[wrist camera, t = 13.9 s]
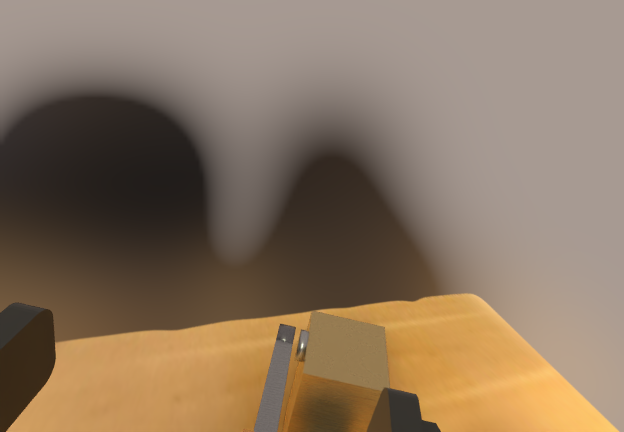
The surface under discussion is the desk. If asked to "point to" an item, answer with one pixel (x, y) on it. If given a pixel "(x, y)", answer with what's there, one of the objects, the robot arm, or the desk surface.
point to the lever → (275, 382)
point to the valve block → (337, 375)
